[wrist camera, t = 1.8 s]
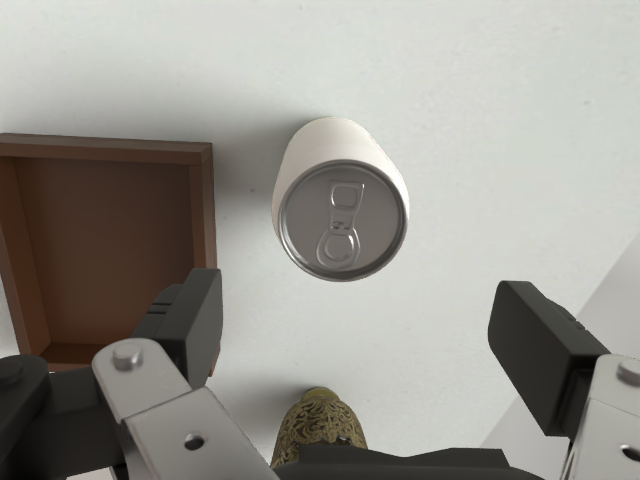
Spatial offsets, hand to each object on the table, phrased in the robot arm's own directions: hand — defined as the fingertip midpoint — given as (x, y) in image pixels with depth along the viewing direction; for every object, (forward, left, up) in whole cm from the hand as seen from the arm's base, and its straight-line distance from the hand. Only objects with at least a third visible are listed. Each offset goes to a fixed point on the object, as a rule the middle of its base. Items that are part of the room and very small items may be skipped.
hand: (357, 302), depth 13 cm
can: (0, 0, -19) cm, 19 cm away
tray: (+4, -16, -19) cm, 25 cm away
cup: (+20, -4, -19) cm, 28 cm away
